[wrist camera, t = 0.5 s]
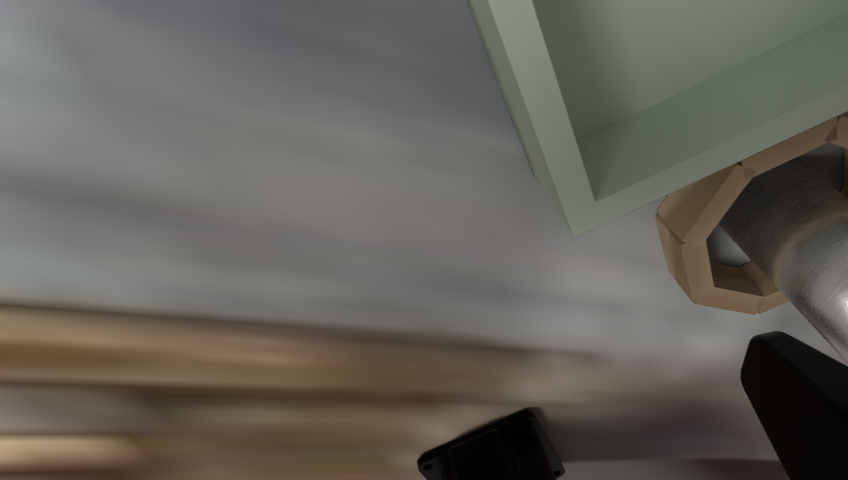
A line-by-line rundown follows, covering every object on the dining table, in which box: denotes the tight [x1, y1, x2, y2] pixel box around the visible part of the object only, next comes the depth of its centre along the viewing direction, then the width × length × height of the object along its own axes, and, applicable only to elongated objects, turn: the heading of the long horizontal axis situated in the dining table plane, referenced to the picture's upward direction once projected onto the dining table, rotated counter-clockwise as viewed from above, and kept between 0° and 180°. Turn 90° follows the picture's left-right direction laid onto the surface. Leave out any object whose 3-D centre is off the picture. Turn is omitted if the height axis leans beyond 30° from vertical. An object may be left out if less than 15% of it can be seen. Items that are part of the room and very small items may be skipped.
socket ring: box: [656, 111, 848, 315], centre depth 27 cm, size 9×9×2 cm
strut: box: [719, 158, 848, 363], centre depth 24 cm, size 4×4×10 cm
